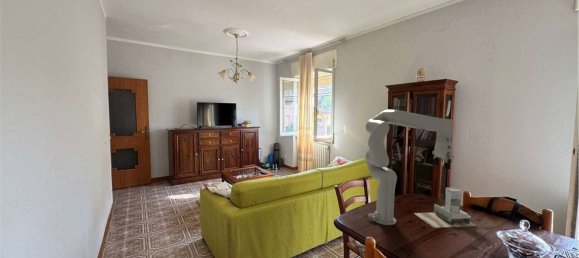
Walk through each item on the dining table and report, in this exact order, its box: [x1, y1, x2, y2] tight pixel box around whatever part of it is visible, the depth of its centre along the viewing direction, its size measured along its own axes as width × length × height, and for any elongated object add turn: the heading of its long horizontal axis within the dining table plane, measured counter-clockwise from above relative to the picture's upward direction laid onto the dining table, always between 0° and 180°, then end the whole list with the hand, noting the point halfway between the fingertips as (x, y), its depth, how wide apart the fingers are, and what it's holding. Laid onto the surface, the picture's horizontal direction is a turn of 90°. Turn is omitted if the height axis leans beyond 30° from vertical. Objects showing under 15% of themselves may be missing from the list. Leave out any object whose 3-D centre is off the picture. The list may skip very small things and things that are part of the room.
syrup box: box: [443, 187, 462, 214], centre depth 142 cm, size 6×6×14 cm
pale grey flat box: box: [433, 203, 472, 224], centre depth 143 cm, size 13×14×6 cm
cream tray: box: [413, 211, 477, 229], centre depth 143 cm, size 26×18×1 cm
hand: (441, 167), depth 146 cm, fingers open, 9 cm apart
